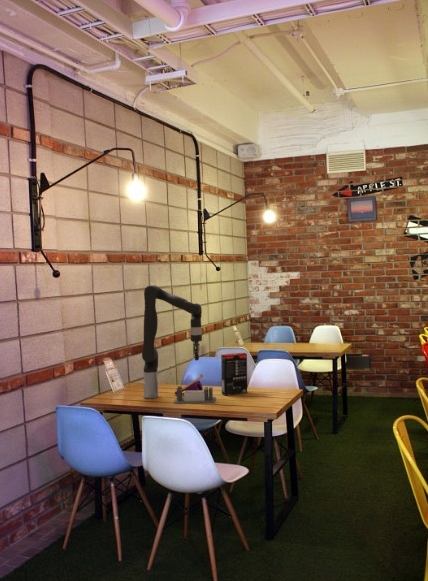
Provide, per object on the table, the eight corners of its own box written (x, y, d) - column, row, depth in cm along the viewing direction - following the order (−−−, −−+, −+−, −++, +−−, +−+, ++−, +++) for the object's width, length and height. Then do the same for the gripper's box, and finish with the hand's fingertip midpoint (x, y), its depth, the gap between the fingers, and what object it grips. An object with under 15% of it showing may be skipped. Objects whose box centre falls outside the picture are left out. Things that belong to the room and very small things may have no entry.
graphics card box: (243, 391, 395) (242, 351, 394) (248, 393, 389) (247, 353, 388) (221, 394, 388) (220, 354, 387) (226, 396, 382) (224, 355, 381)
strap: (178, 393, 369) (177, 390, 369) (179, 391, 373) (177, 389, 373) (203, 376, 368) (201, 374, 368) (203, 376, 371) (202, 373, 371)
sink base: (173, 403, 365) (173, 389, 364) (176, 399, 378) (176, 385, 377) (214, 403, 363) (214, 388, 363) (215, 398, 376) (215, 384, 376)
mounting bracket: (177, 404, 388) (199, 394, 382) (172, 393, 389) (194, 382, 383) (183, 401, 396) (204, 391, 390) (178, 390, 397) (199, 380, 391)
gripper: (191, 332, 386) (192, 358, 387) (189, 335, 372) (190, 361, 373) (202, 332, 386) (203, 358, 386) (200, 334, 372) (201, 361, 372)
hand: (197, 359), depth 379 cm, fingers open, 3 cm apart
